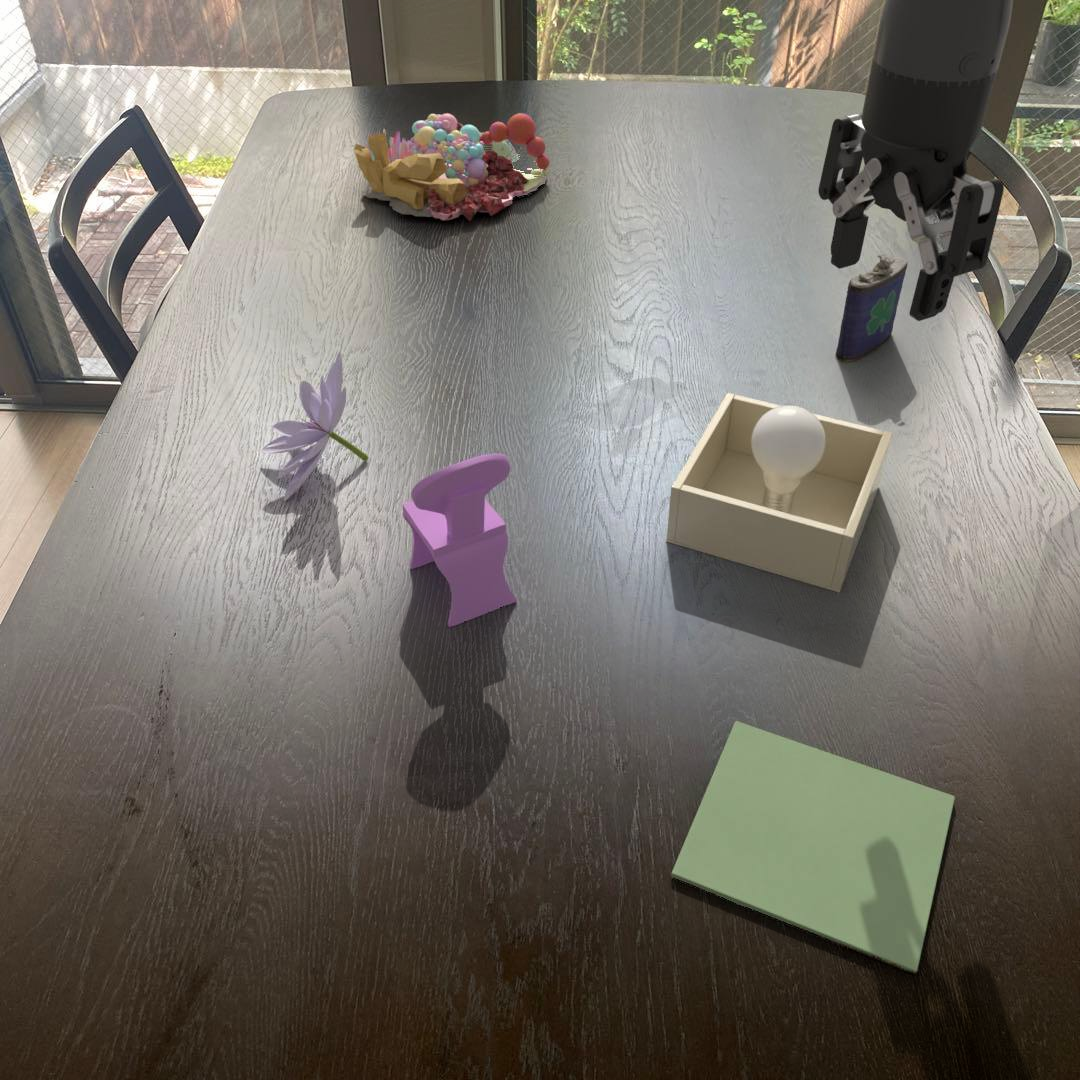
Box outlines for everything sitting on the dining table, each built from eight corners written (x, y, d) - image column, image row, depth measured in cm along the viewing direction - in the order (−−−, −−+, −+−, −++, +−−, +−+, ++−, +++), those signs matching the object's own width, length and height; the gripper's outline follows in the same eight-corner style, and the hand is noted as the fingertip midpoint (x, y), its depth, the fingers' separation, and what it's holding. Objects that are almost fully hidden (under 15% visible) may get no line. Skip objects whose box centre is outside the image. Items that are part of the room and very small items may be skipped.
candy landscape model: (474, 240, 140) (471, 170, 134) (330, 201, 149) (320, 135, 142) (568, 169, 156) (568, 104, 149) (433, 138, 165) (428, 76, 158)
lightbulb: (734, 525, 98) (749, 426, 90) (748, 483, 102) (763, 385, 95) (805, 540, 96) (826, 440, 89) (815, 496, 100) (836, 398, 93)
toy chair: (482, 536, 97) (473, 398, 87) (527, 597, 91) (524, 456, 81) (396, 567, 94) (377, 428, 84) (438, 632, 89) (422, 491, 78)
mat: (953, 801, 76) (955, 796, 76) (915, 976, 67) (917, 971, 66) (734, 725, 81) (735, 720, 81) (670, 877, 72) (671, 873, 71)
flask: (877, 324, 123) (897, 237, 116) (899, 334, 122) (921, 247, 114) (829, 355, 119) (847, 267, 111) (851, 366, 117) (871, 277, 110)
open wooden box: (879, 486, 102) (893, 432, 98) (839, 592, 91) (853, 537, 87) (720, 445, 107) (727, 392, 103) (666, 541, 96) (670, 486, 92)
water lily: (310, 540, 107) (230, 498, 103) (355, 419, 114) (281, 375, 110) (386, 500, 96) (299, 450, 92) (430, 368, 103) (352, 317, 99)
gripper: (1069, 81, 64) (993, 322, 75) (904, 15, 73) (858, 237, 84) (973, 103, 61) (909, 350, 72) (815, 32, 71) (780, 259, 81)
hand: (882, 289), depth 78 cm, fingers open, 8 cm apart
